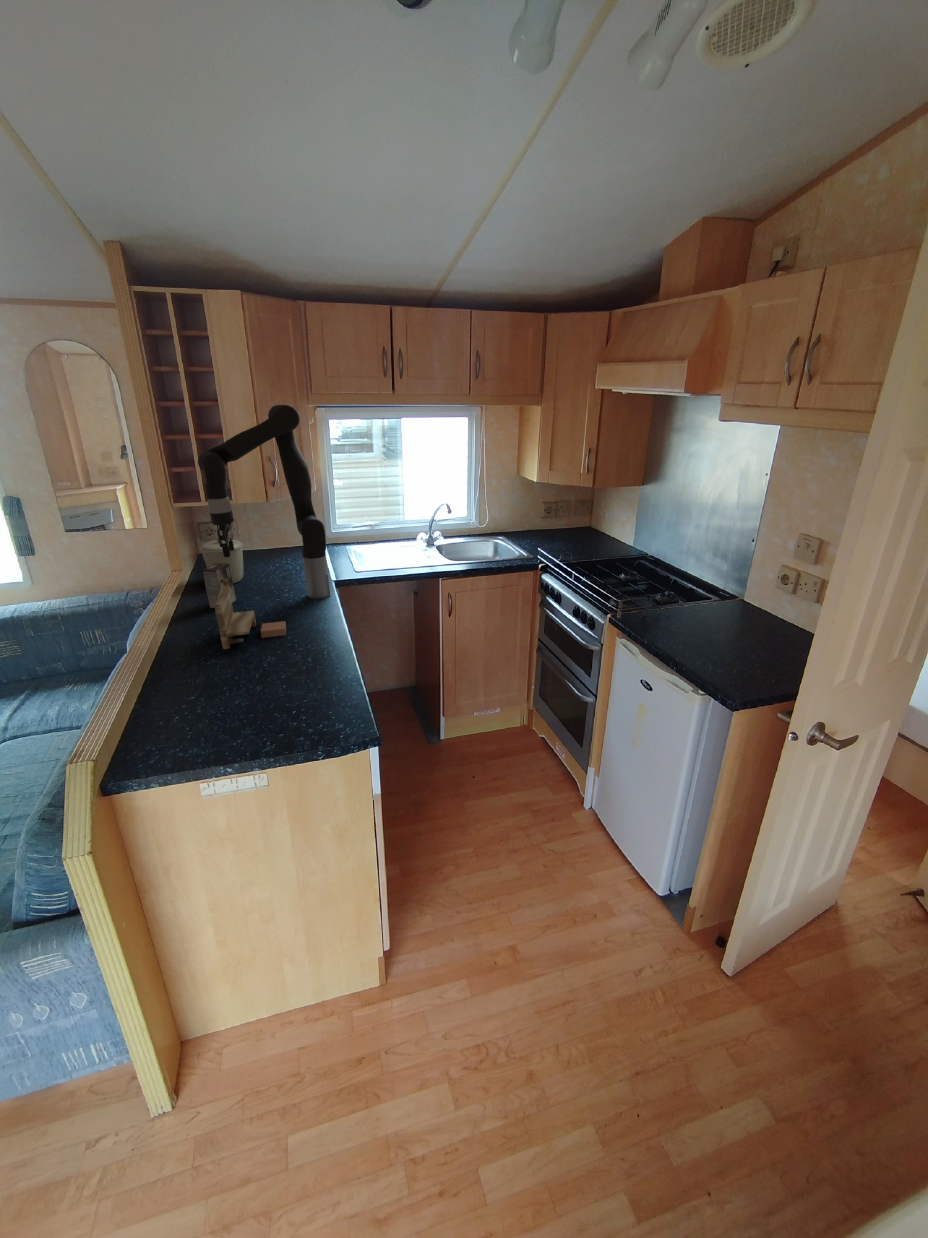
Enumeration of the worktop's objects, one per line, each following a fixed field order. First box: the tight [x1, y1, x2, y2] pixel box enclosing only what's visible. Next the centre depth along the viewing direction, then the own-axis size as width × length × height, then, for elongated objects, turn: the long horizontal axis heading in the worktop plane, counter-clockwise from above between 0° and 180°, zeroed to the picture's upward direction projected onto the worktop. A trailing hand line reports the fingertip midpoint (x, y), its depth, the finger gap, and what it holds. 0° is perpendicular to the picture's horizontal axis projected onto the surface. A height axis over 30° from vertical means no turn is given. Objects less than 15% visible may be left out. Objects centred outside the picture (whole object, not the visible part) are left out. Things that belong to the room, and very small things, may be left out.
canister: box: [199, 535, 244, 584], centre depth 249 cm, size 18×18×21 cm
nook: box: [214, 586, 257, 650], centre depth 194 cm, size 9×19×16 cm, turn 14°
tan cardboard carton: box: [260, 621, 287, 639], centre depth 199 cm, size 8×7×2 cm
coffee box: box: [201, 563, 237, 609], centre depth 223 cm, size 9×6×16 cm
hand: (229, 553), depth 207 cm, fingers open, 8 cm apart
